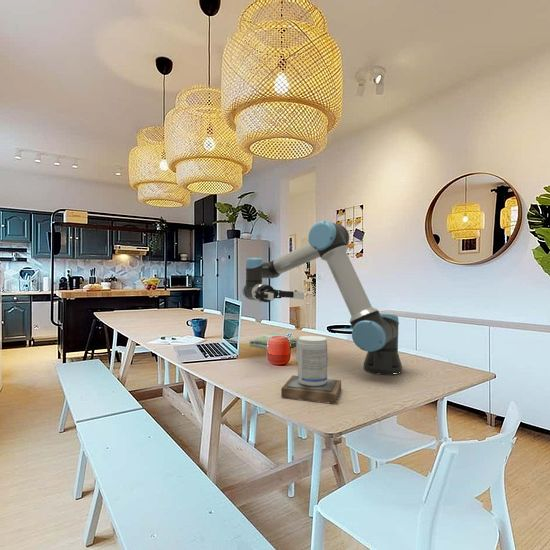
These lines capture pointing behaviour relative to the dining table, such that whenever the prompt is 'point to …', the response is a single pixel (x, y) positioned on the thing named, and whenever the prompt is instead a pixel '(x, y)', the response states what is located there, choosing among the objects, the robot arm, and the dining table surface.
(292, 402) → the dining table surface
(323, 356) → the supplement tub
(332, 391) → the dock
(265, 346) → the towel
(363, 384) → the dining table surface
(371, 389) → the dining table surface
